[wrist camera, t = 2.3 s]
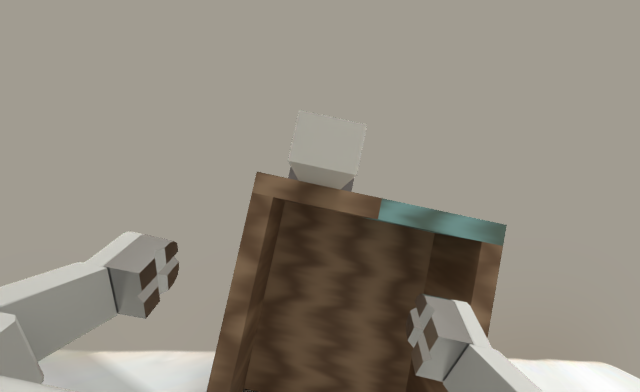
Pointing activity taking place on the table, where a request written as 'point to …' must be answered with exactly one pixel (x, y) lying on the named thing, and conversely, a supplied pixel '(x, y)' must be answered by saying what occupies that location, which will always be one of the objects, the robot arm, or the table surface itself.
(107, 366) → the table surface
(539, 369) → the table surface
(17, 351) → the robot arm
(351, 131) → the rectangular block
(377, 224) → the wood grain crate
